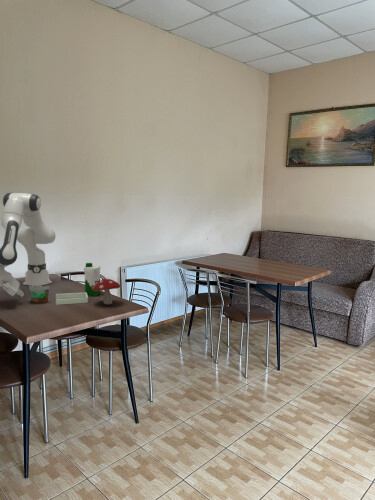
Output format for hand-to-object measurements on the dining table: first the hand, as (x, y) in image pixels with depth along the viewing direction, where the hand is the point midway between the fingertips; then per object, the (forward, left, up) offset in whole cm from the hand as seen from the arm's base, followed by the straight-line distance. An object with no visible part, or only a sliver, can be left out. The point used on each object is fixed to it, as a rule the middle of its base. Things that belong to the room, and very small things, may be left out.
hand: (23, 295), depth 219 cm
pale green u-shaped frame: (+1, +27, -5) cm, 27 cm away
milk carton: (-10, +40, -5) cm, 41 cm away
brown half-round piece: (0, +8, -5) cm, 9 cm away
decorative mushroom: (+12, +46, -5) cm, 47 cm away
